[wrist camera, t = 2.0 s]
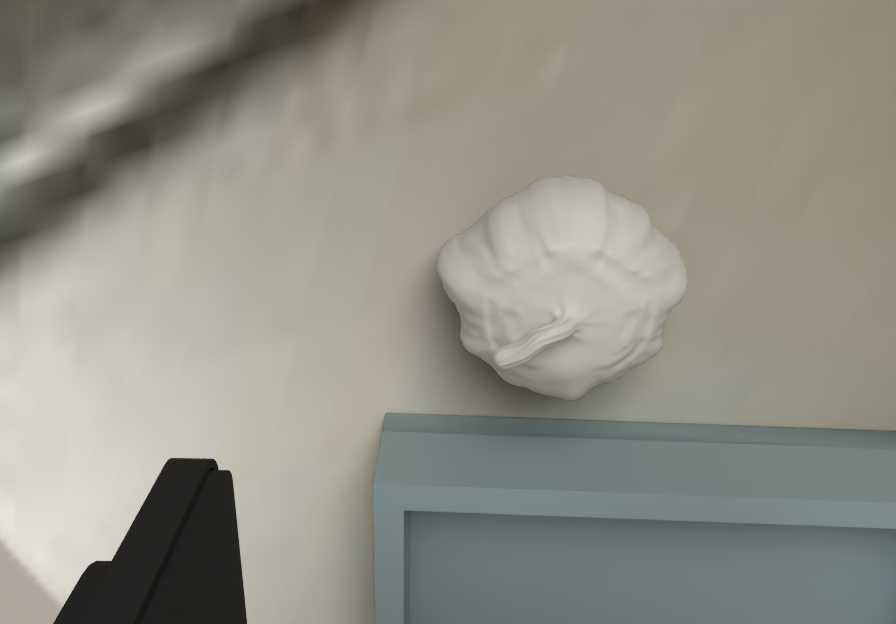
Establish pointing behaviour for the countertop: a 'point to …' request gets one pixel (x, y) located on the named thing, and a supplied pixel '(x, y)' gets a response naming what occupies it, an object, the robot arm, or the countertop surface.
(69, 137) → the countertop surface
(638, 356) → the garlic
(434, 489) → the tray
